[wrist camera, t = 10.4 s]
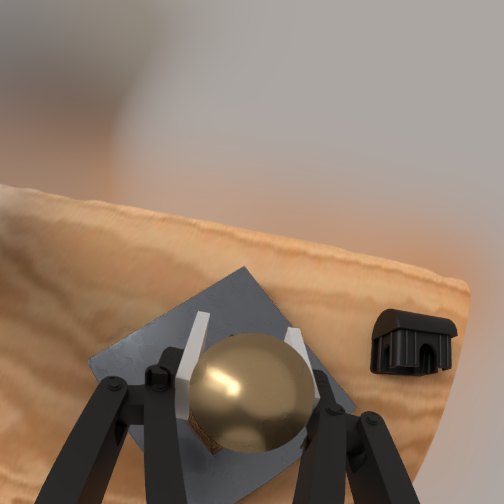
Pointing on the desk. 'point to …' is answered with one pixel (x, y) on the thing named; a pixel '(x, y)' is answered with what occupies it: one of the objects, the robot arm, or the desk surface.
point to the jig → (219, 327)
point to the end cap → (411, 343)
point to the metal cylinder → (251, 393)
